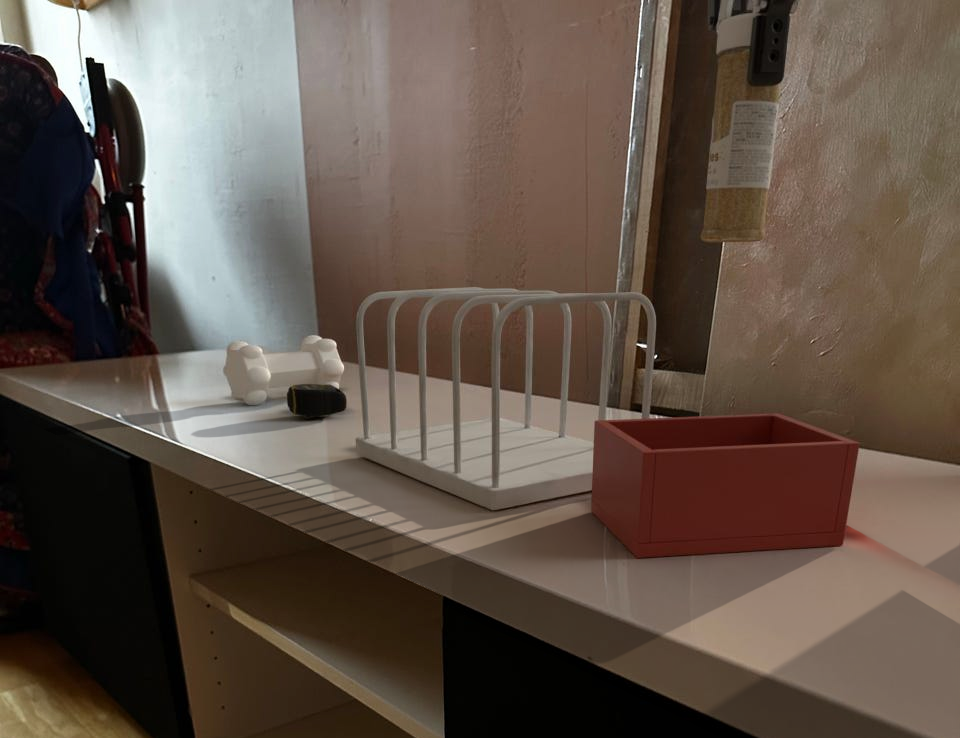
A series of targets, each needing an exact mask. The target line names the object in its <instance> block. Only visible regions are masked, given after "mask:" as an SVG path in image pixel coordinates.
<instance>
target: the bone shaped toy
mask: <svg viewBox="0 0 960 738" xmlns="http://www.w3.org/2000/svg"><path fill="white" fill-rule="evenodd" d="M225 352H226V356H225V357H226V359H225V365H224V366H223V369H222V370H223V371H222V372H223V375H224V376H225V378H226V381H227V383H228V386H229V389H230V391H231V394H230V395H231V398H233V399H234V400H236V401H241V402H244V403H245V404H247V405H248V406H259V405H262V404H263V403H265V401H266V400H267V396H268V389H274V388H284V387H291V386H293V385H300V384H322V385H327V384H330V385H332V386H334V387H336V388H338V389H339V390H340V382H341V381H340V380H341V378H342V375H343V373H344V371H345V365H344V363H343V362H342V360H341V357H340V355H339V351H338V349H337V342H336V341H335V340H333V339H331V338H322V337H321V336H320V335H316V334H311V335H308V336H306V337H304V339H302V341H301V349H300V350H298V351H287V352H275V353H266V354H263V349H262V348H261V347H260V346H258V345H255V344H249V343H248V342H245V341H241V340H236V341H232V342H230V344H228V345H227V347H226V351H225Z"/></svg>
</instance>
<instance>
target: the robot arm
mask: <svg viewBox="0 0 960 738" xmlns="http://www.w3.org/2000/svg"><path fill="white" fill-rule="evenodd" d="M799 2H800V1H799V0H707V29H708V31H709V32H716V35H717V36H718V28H719V25H720V23H721V22H722V21H723V20H725V19H727V18H729V17H732V16H736V15H741V14H747V13H760V16H758V15H757V16H756V17H754V18H753V22H752V33H751V43H750V53H749V64H748V74H747V81H748V83H749V85H751V86H768V87H771V86H775V85H777V84H779V83H780V84H781V83H782V81H783V80H784V77H785V68H786V60H787V51H788V46H787V43H788V44H789V36H788V34H790V25H791V24H790V23H791V15H794V14H795V13H796V11H797V9H798V6H799Z"/></svg>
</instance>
